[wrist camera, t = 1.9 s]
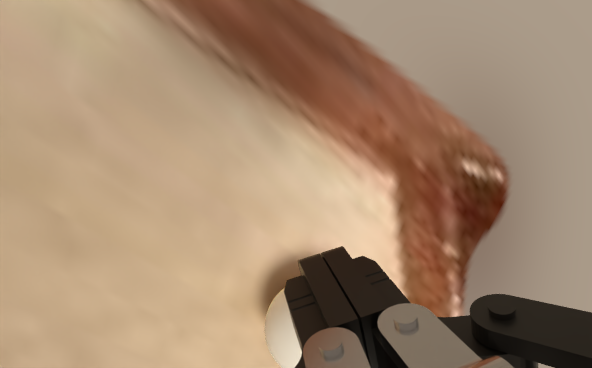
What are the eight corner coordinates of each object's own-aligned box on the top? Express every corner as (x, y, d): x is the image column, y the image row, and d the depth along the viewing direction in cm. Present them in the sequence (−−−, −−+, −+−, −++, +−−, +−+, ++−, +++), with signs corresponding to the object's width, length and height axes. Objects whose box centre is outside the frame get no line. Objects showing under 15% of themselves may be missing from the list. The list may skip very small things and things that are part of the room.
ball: (308, 350, 30) (332, 416, 24) (241, 316, 28) (250, 379, 22) (357, 287, 29) (394, 340, 24) (292, 247, 27) (315, 294, 22)
